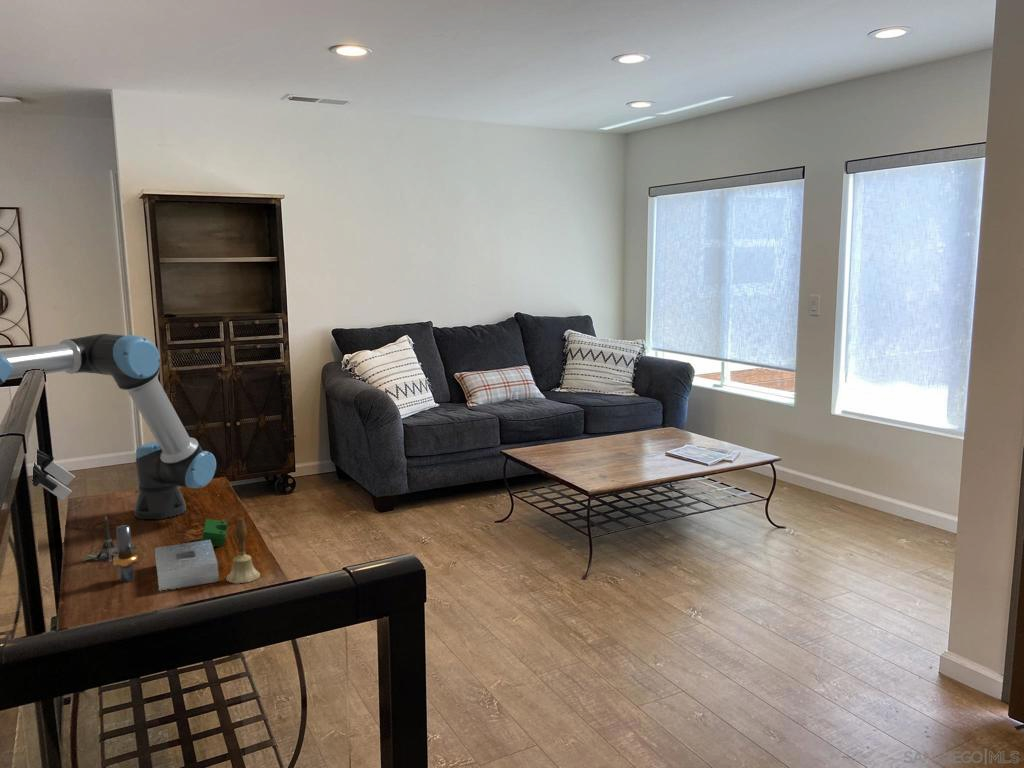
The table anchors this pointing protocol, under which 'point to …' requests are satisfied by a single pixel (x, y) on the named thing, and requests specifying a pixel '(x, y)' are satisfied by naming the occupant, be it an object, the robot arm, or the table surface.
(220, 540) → the clamp
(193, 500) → the table surface
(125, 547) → the pin
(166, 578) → the hole block
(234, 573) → the hand bell
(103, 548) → the eiffel tower figurine
